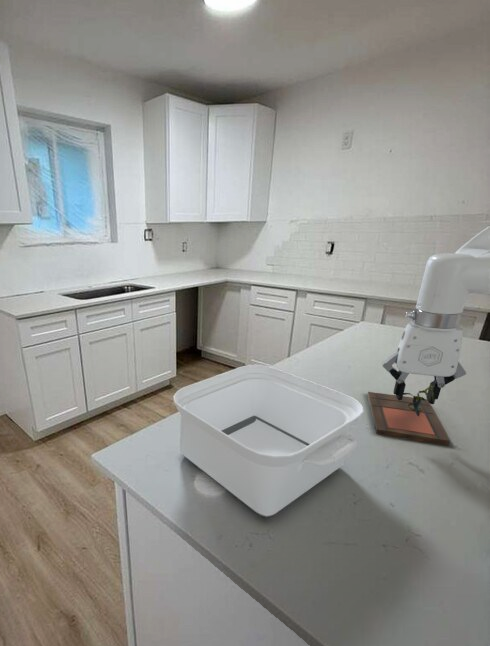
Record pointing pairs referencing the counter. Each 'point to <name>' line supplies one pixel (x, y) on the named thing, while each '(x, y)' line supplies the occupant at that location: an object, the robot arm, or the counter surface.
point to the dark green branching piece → (418, 403)
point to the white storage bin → (265, 433)
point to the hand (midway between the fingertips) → (414, 398)
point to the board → (405, 419)
